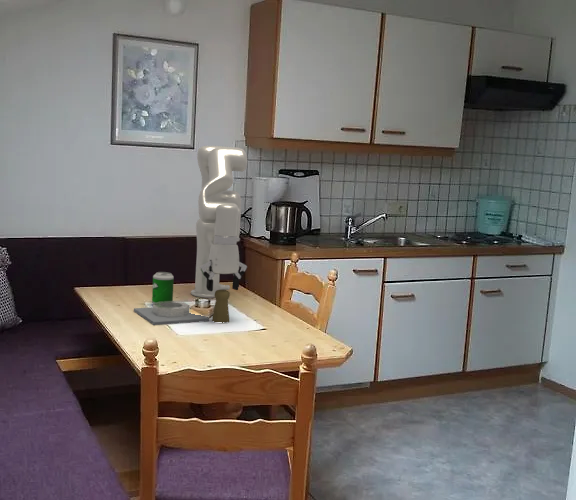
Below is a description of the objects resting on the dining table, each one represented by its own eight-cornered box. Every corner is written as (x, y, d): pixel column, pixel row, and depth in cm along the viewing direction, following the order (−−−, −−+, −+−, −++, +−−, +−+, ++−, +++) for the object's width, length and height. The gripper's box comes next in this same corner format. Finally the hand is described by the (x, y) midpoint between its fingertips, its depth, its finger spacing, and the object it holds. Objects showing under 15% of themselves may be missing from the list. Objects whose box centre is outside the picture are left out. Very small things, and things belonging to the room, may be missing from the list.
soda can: (174, 304, 267) (176, 272, 265) (169, 308, 259) (170, 276, 258) (155, 302, 267) (156, 271, 266) (149, 306, 260) (150, 274, 258)
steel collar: (179, 308, 256) (180, 300, 256) (192, 316, 246) (193, 307, 246) (149, 310, 250) (149, 302, 250) (161, 318, 240) (161, 309, 240)
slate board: (186, 307, 262) (186, 305, 262) (208, 321, 245) (209, 318, 245) (133, 311, 252) (133, 308, 251) (153, 325, 235) (153, 322, 235)
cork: (226, 324, 243) (228, 292, 241) (209, 322, 244) (211, 290, 242) (231, 320, 249) (233, 289, 247) (214, 318, 250) (216, 287, 248)
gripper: (242, 239, 250) (239, 287, 252) (197, 239, 241) (195, 289, 243) (252, 242, 244) (249, 291, 246) (206, 242, 235) (204, 293, 237)
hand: (222, 290), depth 244 cm, fingers open, 9 cm apart
